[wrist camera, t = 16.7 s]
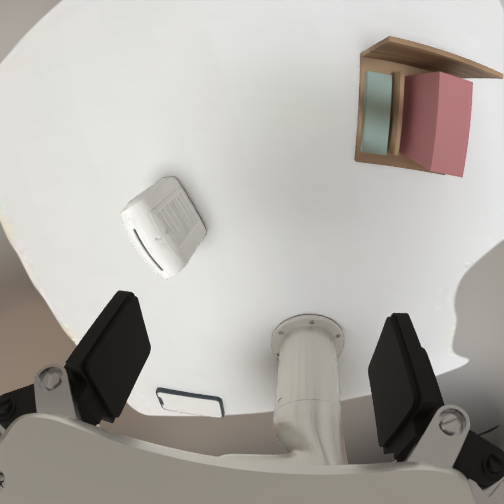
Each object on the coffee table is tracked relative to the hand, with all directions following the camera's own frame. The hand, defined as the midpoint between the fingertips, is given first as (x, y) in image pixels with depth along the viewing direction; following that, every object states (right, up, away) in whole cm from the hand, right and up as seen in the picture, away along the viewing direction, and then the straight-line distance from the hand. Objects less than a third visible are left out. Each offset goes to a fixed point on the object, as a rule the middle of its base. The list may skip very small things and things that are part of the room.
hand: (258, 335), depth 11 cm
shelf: (+19, +20, +21) cm, 35 cm away
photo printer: (-10, +9, +31) cm, 34 cm away
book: (+20, +20, +20) cm, 35 cm away
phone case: (-15, -33, +55) cm, 66 cm away
